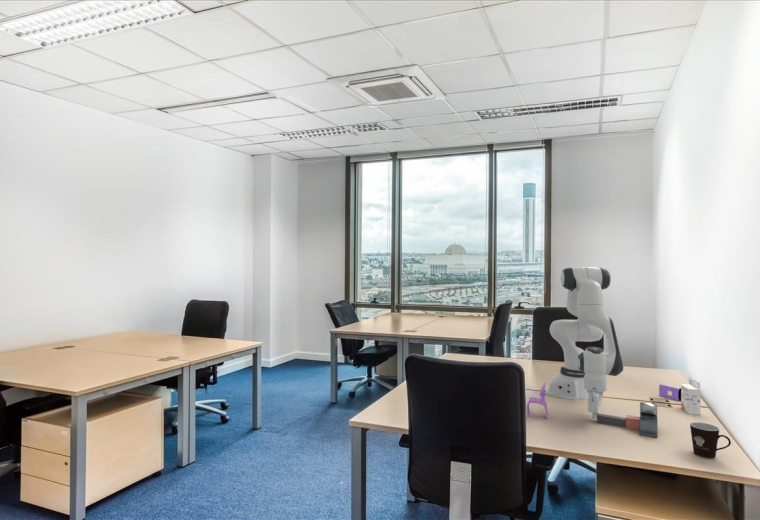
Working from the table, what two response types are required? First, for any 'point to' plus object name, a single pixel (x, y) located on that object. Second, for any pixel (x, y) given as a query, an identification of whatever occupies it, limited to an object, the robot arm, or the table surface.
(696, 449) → the coffee mug
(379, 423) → the table surface
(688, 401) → the ink cartridge box
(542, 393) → the toy chair
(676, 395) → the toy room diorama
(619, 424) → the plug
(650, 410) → the housing
